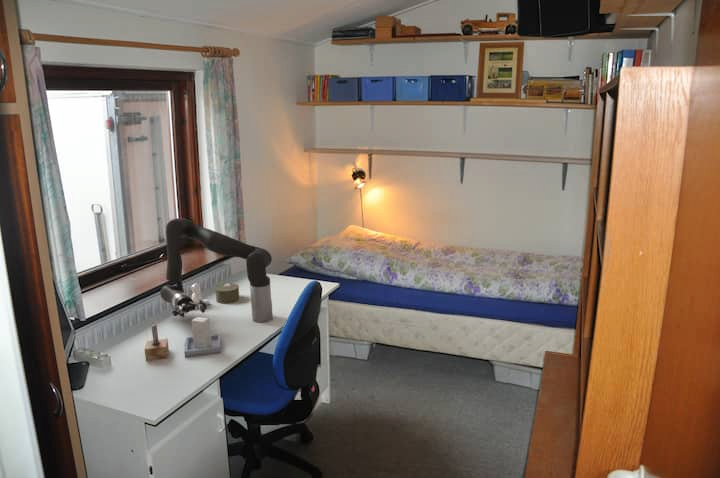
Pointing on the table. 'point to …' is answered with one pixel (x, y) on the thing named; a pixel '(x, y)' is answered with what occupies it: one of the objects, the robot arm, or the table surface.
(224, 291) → the can
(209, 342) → the skincare box
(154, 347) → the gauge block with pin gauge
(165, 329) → the table surface
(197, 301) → the white creature statuette
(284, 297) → the table surface
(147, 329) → the table surface
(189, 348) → the tray
